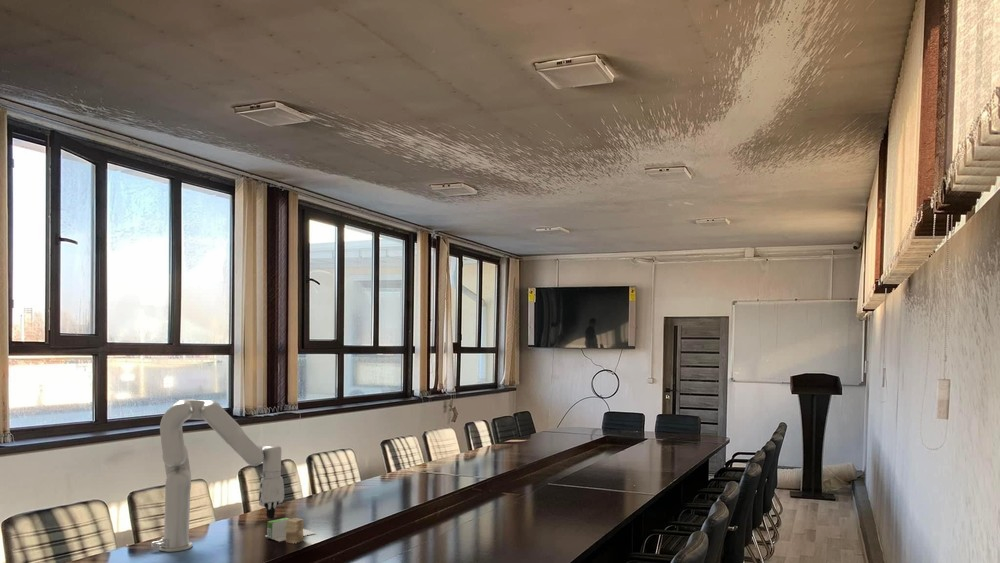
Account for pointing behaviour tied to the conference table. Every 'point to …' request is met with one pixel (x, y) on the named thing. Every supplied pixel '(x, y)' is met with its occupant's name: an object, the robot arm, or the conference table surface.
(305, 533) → the felt mat
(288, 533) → the oak block
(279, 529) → the ink box
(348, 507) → the conference table surface
